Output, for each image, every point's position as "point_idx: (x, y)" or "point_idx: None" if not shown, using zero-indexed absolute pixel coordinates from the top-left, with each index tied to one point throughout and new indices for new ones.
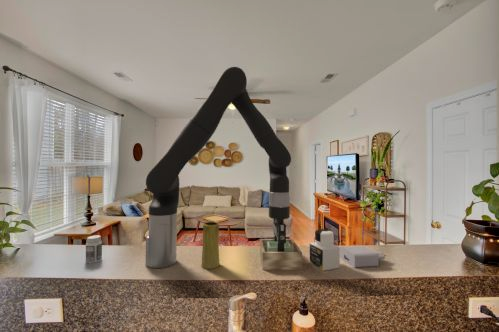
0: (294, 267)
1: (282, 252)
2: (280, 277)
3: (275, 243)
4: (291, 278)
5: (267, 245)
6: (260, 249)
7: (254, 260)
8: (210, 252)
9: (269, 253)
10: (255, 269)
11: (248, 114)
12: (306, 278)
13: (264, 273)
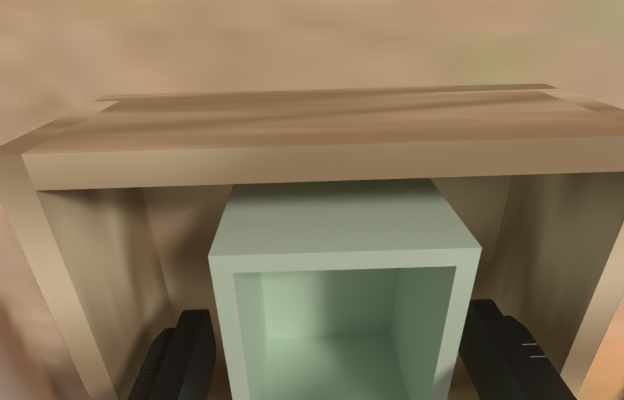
0: None
1: (86, 377)
2: (4, 232)
3: (434, 330)
4: (19, 296)
5: (392, 230)
6: (445, 109)
7: (332, 11)
8: None
9: (27, 243)
10: (91, 18)
11: None
12: (54, 369)
13: (29, 110)
